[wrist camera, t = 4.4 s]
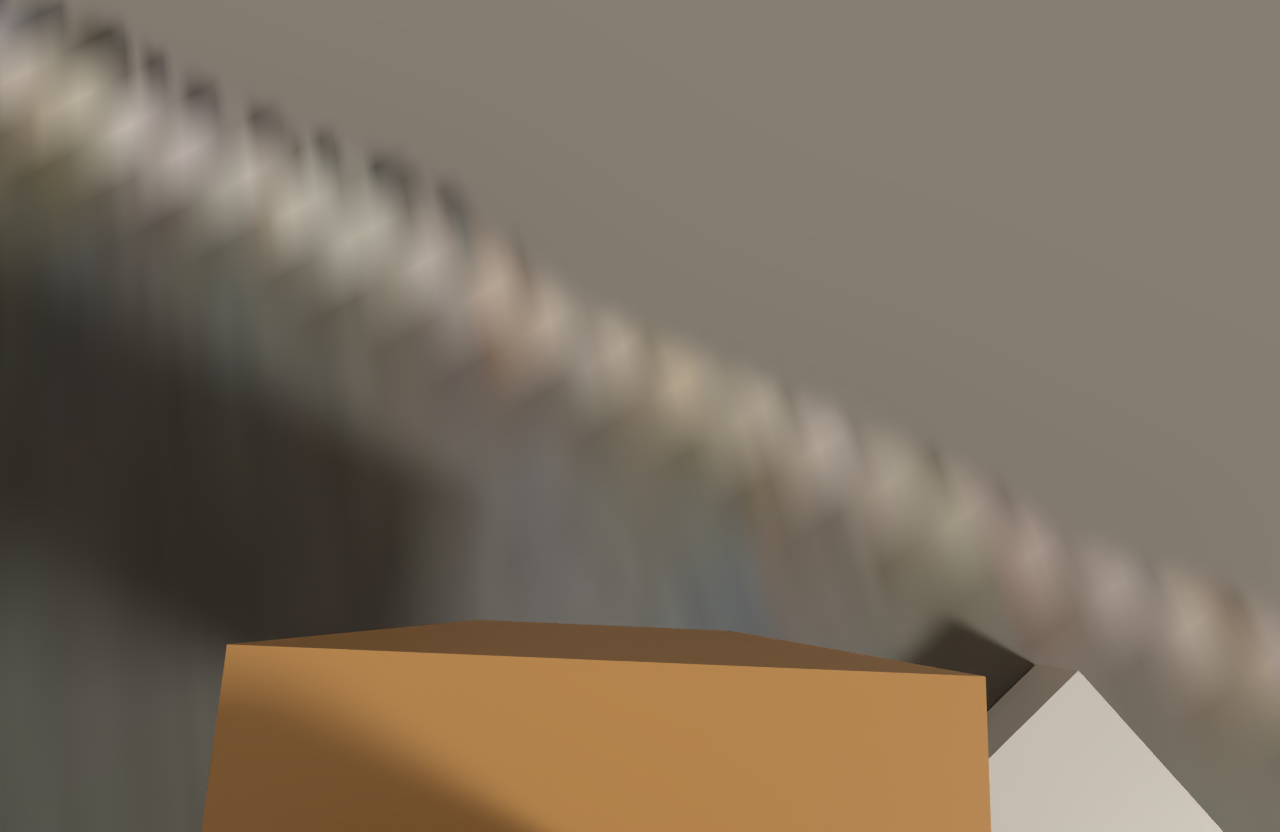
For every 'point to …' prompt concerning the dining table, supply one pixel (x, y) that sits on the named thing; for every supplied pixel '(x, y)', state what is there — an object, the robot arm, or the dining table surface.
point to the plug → (590, 734)
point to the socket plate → (1077, 765)
